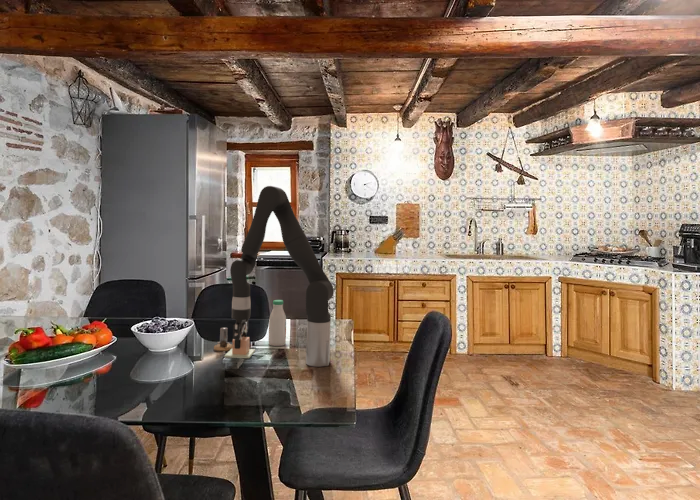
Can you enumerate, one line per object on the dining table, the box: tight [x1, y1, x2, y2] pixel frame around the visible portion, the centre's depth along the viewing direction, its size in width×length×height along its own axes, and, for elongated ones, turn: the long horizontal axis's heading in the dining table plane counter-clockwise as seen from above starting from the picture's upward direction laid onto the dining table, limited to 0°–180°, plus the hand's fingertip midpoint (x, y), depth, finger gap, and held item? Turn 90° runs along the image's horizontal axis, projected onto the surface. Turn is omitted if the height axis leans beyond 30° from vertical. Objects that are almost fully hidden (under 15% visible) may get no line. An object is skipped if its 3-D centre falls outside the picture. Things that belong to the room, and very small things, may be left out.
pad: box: [224, 348, 256, 359], centre depth 181 cm, size 10×10×1 cm
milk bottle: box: [268, 299, 287, 347], centre depth 197 cm, size 8×8×20 cm
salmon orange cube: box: [231, 336, 251, 355], centre depth 180 cm, size 6×6×6 cm
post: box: [213, 327, 232, 353], centre depth 187 cm, size 8×8×9 cm
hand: (240, 345), depth 180 cm, fingers open, 8 cm apart
